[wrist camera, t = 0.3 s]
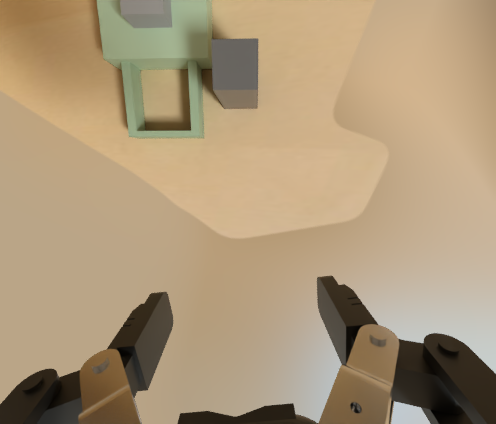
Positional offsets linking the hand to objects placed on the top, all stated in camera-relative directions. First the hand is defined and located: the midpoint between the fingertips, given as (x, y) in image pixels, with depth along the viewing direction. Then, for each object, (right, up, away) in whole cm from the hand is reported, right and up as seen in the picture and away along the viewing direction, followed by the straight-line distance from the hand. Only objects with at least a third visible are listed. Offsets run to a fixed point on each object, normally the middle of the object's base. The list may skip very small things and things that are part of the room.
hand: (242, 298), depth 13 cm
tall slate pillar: (-1, +23, +23) cm, 32 cm away
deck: (-12, +26, +23) cm, 36 cm away
